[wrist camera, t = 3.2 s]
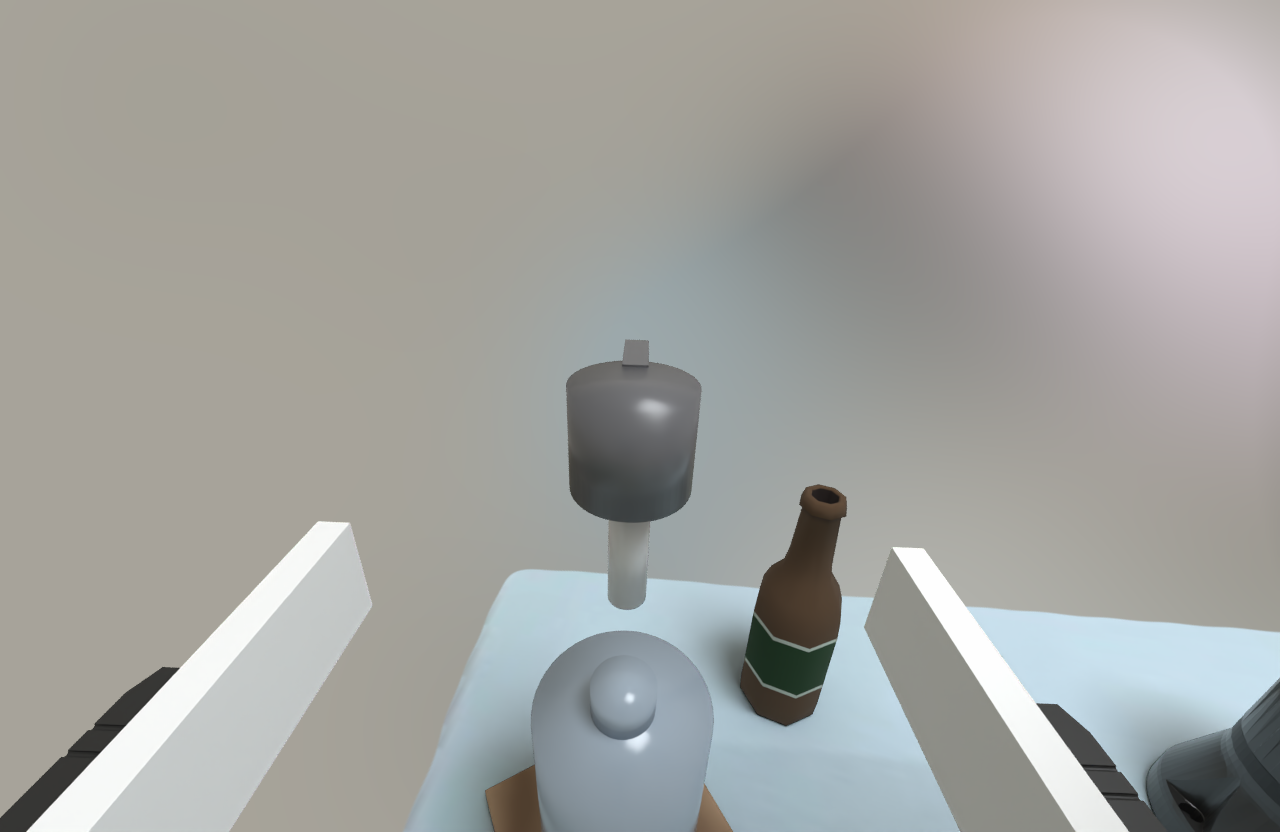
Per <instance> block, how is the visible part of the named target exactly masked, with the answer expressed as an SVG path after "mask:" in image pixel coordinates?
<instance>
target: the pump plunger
mask: <svg viewBox="0 0 1280 832" xmlns="http://www.w3.org/2000/svg"><path fill="white" fill-rule="evenodd" d="M566 392H567V421H568V451H569V452H568V454H569V485H570V492H571V495H572V497H573V499H574V500H575V501H576V503H577V504H578V505H579V506H580V507H582V508H583V509H584V510H586V511H587V512H589V513H591V514H593V515H595V516H598V517H600V518H603V519H607V520H609V535H608V539H609V540H608V541H609V542H608V599H609V601H610V603H611V604H612V605H614V606H615V607H617V608H619V609H623V610H631V609H635V608H637V607H639V606H640V605H642V604H643V602H644V601H645V598H646V585H647V566H648V549H649V533H650V521H654V520H658V519H661V518H664V517H667V516H669V515H671V514H673V513H675V512H677V511H678V510H679V509H681V508H682V507H683V506H684V505H685V504H686V502H687V501H688V499H689V497H690V495H691V489H692V479H693V469H694V459H695V449H696V439H697V428H698V419H699V410H700V400H701V385H700V383H699V382H698V380H697V379H695V377H693V376H692V375H690V374H689V373H687V372H685V371H683V370H680V369H678V368H675V367H672V366H668V365H664V364H659V363H653V362H649V341H646V340H625V347H624V354H623V361H613V362H605V363H599V364H595V365H591V366H588V367H585V368H583V369H580V370H579V371H577V372H575V373H574V374H573V375H571V376H570V378H569V379H568V381H567V384H566Z"/></svg>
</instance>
